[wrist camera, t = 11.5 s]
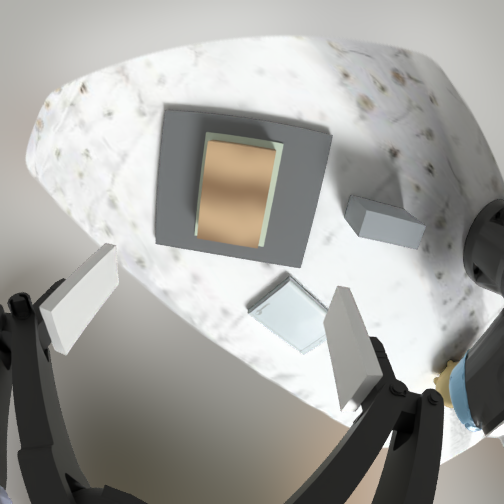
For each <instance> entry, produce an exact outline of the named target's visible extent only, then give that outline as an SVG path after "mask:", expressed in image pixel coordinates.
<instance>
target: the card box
mask: <svg viewBox="0 0 504 504" xmlns="http://www.w3.org/2000/svg"><path fill="white" fill-rule="evenodd" d="M275 155H276V150H275V149H271V148H265V147H259V146H253V145H247V144H240V143H234V142H226V141H219V140H210V141H208V144H207V151H206V159H205V167H204V175H203V183H202V192H201V201H200V211H199V221H198V232H197V239H203V240H209V241H215V242H221V243H227V244H233V245H239V246H245V247H251V248H257V249H258V245H259V240H260V235H261V229H262V224H263V219H264V214H265V208H266V203H267V198H268V193H269V187H270V182H271V177H272V171H273V166H274V161H275Z"/></svg>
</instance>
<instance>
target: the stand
mask: <svg viewBox="0 0 504 504" xmlns="http://www.w3.org/2000/svg"><path fill="white" fill-rule="evenodd" d="M344 218H345V219H346V221H347V222H348V223H349V225H350V226H351V227H352V229H353V230H354V231H355V233H356V234H357V235H358V237H362V238H367V239H371V240H376V241H381V242H385V243H390V244H394V245H399V246H403V247H408V248H412V249H418V247H419V244H420V241H421V239H422V236H423V233H424V230H425V228H426V225H424V224H423V223H422V222H420V221H419V220H418V219H417V218H415V217H414V216H413V215H411V214H410V213H409V212H407V211H406V210H405V209H402V208H398V207H395V206H391V205H387V204H384V203H380V202H376V201H372V200H369V199H365V198H361V197H357V196H353V195H350V199H349V202H348V206H347V210H346V213H345V217H344Z"/></svg>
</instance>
